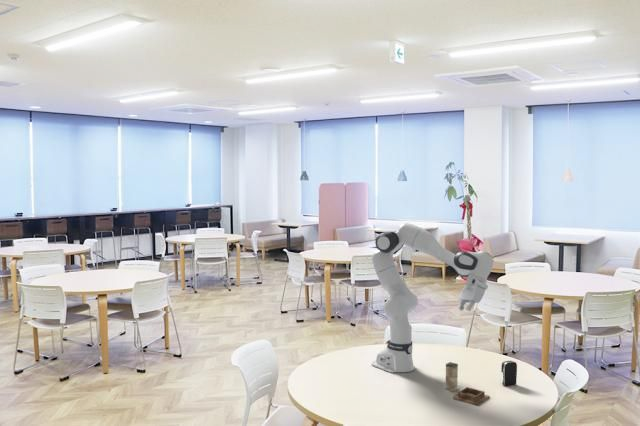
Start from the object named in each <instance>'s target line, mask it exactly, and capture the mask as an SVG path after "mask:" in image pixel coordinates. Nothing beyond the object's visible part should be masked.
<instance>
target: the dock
mask: <svg viewBox="0 0 640 426" xmlns="http://www.w3.org/2000/svg"><path fill="white" fill-rule="evenodd" d="M490 396H491V395H488V394H485V391H484V390H479V389H475V388H473V387H468V386H466V387H465V388H462V389H461V390H460V391H458V392H457V393H456V394H455V395H453V396H452V400H457V401H460V402H463V403H467V404H471V405H475V406H477V407H478V406H480V405H481V404H483V403H484V402H485V401H486V400H488V399H490Z"/></svg>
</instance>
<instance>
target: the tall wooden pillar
mask: <svg viewBox="0 0 640 426" xmlns="http://www.w3.org/2000/svg"><path fill="white" fill-rule="evenodd" d="M458 367H459V364H458V363H455V362H452V361H450V362H447V363H445V390H447V391H449V392H450V391H451V392H455V391H456V390H458V372H459V371H458V369H459V368H458Z"/></svg>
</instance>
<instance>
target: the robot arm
mask: <svg viewBox="0 0 640 426" xmlns="http://www.w3.org/2000/svg"><path fill="white" fill-rule="evenodd" d="M404 245H406V246H408V247H410V248H412V249H414V250H415V251H418V252H420V253H424V254H425V255H429V256H431V257H432V258H435V259H437V260H439V261H441V262H443V263H444V264H446V265H448V266H449V267H452V268H453V269H454V271H455V272H456V273H457V274H458V275H459V276H461V277H462V278H463V277H464V278H466V281H465V283H464V284H465V286H463V288H462V290H461V291H460V293H459V295H458V297H457V300H458V301H459V307H458V310H459V311H464V309H466V311H468V312H470V311H471V312H472V308H473V307H474V306H475V304H476V303H478V304H479V303H481V301H482V299H483V297H484V295H485V292H486V291H487V290H488V287H489V285H487V281H488V277H489V275H490V274H491V272H492V269H493V265H494V262H495V261H494V257H493V256H492V255H491V254H490V253H488V252H486V251H485V250H480V251H473V252H471V251H464V250H463V251H462V250H461V251H458V252H457V253H456V254H455V253H453V252H452V251H450V250H448V249H446V248H445V247H443V246H442V244H440V243H439V241H438V240H437V238H436V237H435V236H434V235H433V234H432V233H431V232H429V231H428V230H426V229H425V228H422V227H420V226H417V225H414V224H412V223H409V222H404V223H402V224H401V225H400V226H399V227H398V229H397V230H387V231H384V232H381V233H379V234H378V235H377V236H376V238H375V247H376V249H377V250H375V251H374V252H373V253H372V255H371V261H372V265H373V268H374V271H375V274H376V276H377V278H378V281H379V283H380V285H381V288H383V290H385V291H386V292H387V293H388V294H389V296H390V297H389V298H387V299H386V301H385V302H384V303H383V312H384V314H385V316H387V319H388V323H389V339H388V340H387V341H386V342H385V345H387V346H386V347H384V348H383V349H381V350H380V351H379V352H378V353H377V354H376V359H375V360H373V361H372V362H371V366H373V367H376V368H378V369H380V370H384V371H386V372H388V373H391V374H392V373H393V374H394V373H407V372H408V373H409V372H412V371H414V370H415V365H414V361H413V340H412V335H413V334H412V332H413V330H412V329H413V327H412V325H411V324H410V322H409V317H408V316H409V315H408V314H409V313H411V312H413V311H414V310H415V309H416V308H417V306H418V304H419V299H418V296H417V295H416V293H414V292H413V291H411V289H409V287H408V286H407V284H406V283H405V282H404V280H403V278H402V276H401V274H400V271H399V270H398V266H396V263H395V260H394V255H396V254H397V253H398V252H399V251H401V249H403V247H404ZM466 303H468V305H467V306H466V308H465V305H466Z"/></svg>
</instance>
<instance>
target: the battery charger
mask: <svg viewBox="0 0 640 426" xmlns="http://www.w3.org/2000/svg"><path fill="white" fill-rule="evenodd" d="M500 369H501V371H500V372H501V373H502V377H503V379H502V382H501V384H502V385H503V386H504V387H511V386H516V385H517V379H518V374H517V373H518V364H517V362H516V361H513V360H504V361H502V363H501V368H500Z"/></svg>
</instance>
